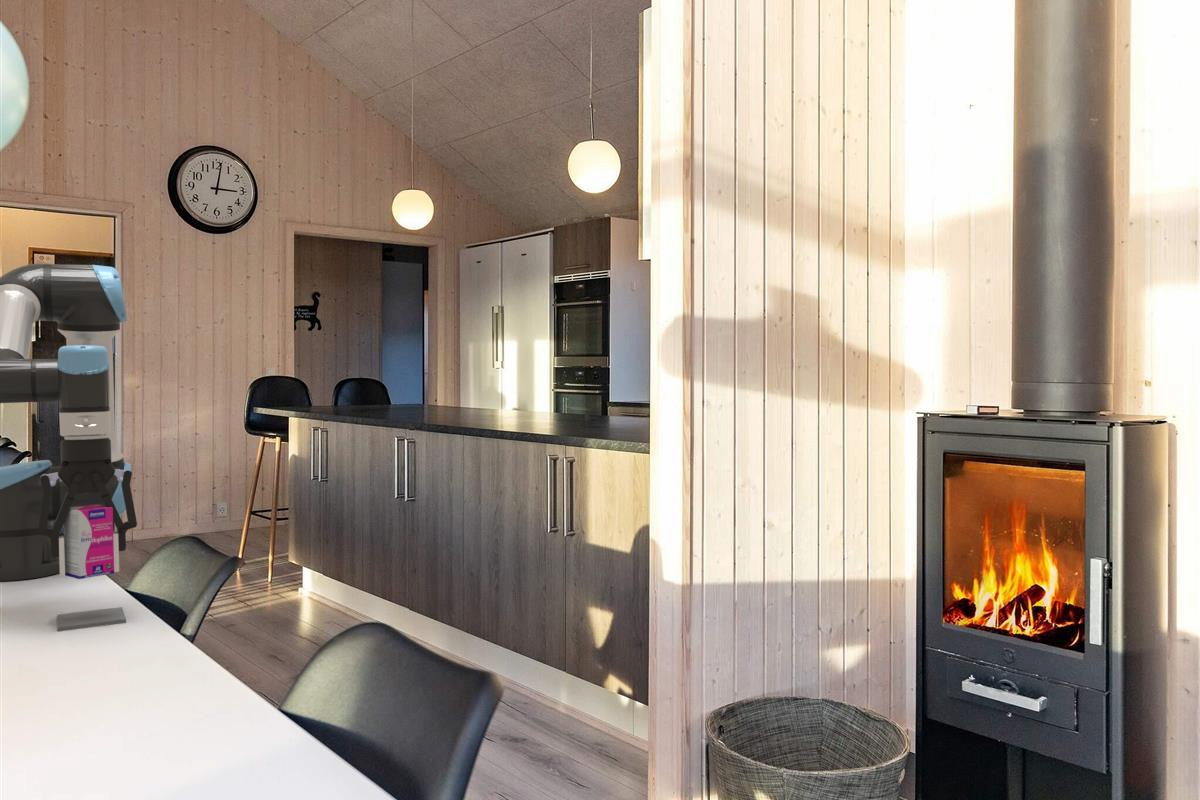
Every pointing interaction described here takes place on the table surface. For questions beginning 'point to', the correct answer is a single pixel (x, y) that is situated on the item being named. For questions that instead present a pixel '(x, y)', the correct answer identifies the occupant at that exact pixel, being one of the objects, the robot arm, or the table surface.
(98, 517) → the supplement box
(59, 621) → the slate coaster
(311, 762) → the table surface
